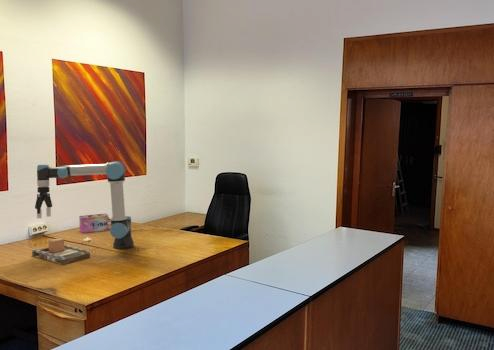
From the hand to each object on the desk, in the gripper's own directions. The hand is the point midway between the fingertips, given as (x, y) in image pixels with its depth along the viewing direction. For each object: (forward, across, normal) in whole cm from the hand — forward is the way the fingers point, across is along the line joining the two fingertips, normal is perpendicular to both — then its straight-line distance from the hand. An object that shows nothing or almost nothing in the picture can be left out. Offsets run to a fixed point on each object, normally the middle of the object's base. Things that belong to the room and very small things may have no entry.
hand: (44, 217), depth 298 cm
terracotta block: (+24, 0, +8) cm, 25 cm away
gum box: (+19, -74, +8) cm, 77 cm away
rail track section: (+27, +2, +12) cm, 29 cm away
